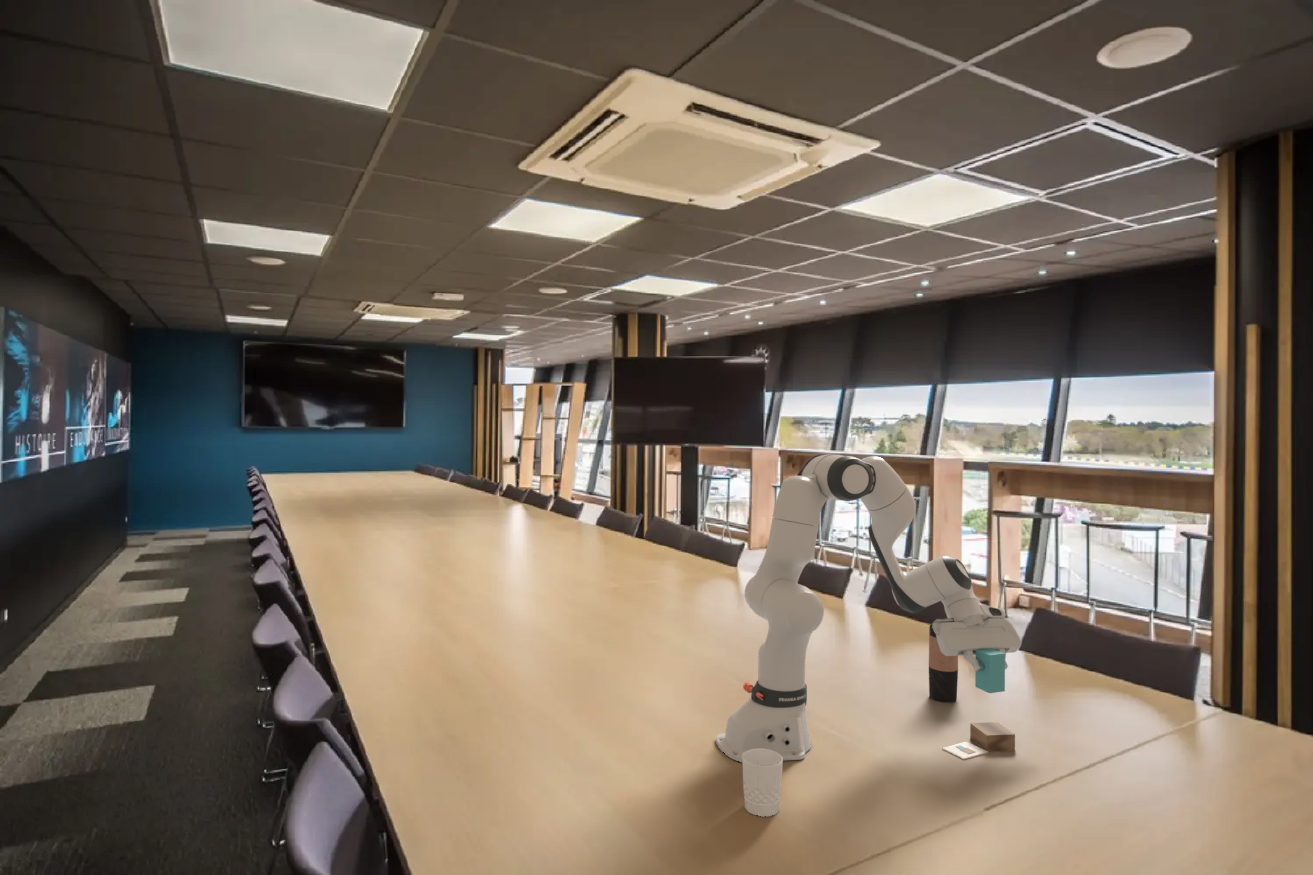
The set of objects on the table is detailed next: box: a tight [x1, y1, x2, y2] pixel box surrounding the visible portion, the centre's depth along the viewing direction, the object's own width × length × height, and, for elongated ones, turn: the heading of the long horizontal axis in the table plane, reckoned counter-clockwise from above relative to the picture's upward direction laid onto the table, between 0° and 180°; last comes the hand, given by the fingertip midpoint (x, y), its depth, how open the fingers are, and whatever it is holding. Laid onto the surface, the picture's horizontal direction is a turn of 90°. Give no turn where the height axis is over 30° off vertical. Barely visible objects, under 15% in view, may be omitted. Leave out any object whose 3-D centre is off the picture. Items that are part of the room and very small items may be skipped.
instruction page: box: [942, 741, 989, 761], centre depth 164 cm, size 8×6×1 cm
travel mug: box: [928, 623, 959, 704], centre depth 197 cm, size 8×8×20 cm
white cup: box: [741, 749, 784, 818], centre depth 138 cm, size 8×8×10 cm
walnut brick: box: [969, 721, 1016, 752], centre depth 168 cm, size 7×7×4 cm
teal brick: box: [974, 649, 1006, 694], centre depth 168 cm, size 4×4×9 cm
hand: (991, 669), depth 168 cm, fingers closed on teal brick, 5 cm apart
